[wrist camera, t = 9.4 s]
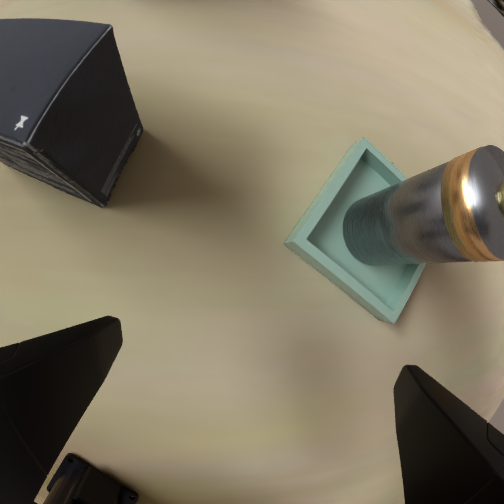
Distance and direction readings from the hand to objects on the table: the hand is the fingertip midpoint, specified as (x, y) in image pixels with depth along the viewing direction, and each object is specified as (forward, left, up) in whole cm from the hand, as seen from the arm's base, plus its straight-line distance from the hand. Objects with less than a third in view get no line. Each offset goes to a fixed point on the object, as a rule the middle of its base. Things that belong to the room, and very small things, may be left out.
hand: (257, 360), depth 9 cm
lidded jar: (+10, -5, -10) cm, 15 cm away
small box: (+2, +16, -11) cm, 19 cm away
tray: (+10, -5, -11) cm, 16 cm away
